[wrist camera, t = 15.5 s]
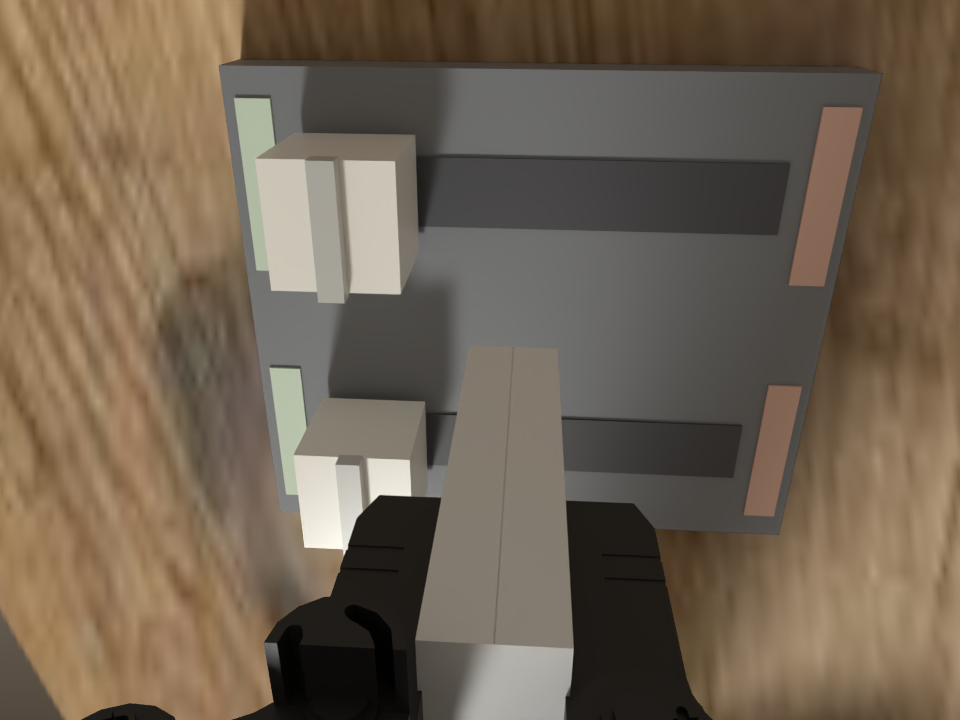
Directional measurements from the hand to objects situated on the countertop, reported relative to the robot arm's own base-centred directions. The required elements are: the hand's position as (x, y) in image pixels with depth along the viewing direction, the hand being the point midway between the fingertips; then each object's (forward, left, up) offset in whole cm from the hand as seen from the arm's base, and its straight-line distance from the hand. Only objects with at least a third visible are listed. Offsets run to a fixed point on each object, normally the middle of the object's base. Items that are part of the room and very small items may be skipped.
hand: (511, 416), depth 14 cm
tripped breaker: (0, +6, -14) cm, 15 cm away
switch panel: (-5, 0, -16) cm, 17 cm away
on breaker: (-10, +6, -14) cm, 18 cm away
